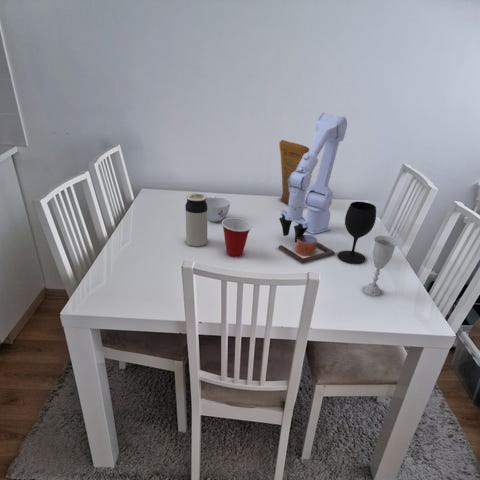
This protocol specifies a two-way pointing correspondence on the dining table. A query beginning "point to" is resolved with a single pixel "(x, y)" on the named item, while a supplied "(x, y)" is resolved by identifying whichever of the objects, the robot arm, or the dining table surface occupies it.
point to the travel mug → (196, 219)
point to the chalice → (380, 259)
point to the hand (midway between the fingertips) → (291, 238)
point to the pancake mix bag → (289, 163)
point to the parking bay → (304, 260)
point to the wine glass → (358, 228)
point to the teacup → (217, 208)
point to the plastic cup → (235, 235)
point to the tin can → (306, 245)
